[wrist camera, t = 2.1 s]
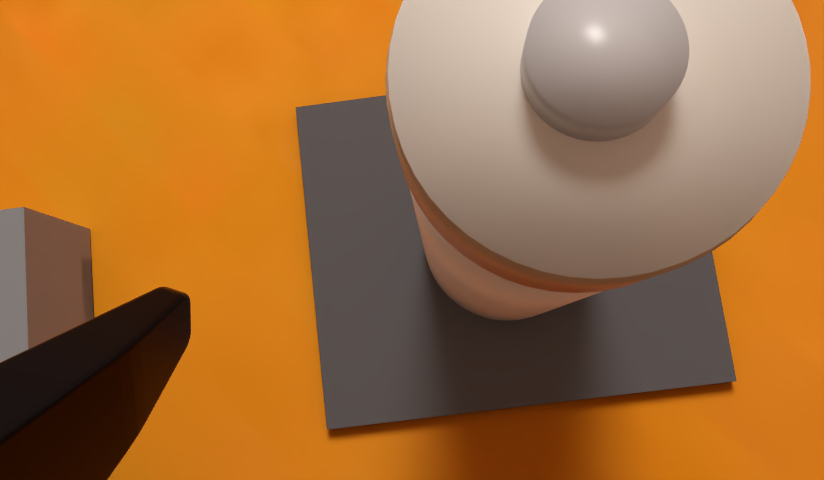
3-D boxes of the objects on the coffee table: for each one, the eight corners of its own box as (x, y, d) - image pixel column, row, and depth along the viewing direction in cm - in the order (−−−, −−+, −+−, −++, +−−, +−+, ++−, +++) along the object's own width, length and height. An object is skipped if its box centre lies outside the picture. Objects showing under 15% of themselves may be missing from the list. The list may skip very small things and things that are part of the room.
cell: (603, 311, 21) (890, 243, 7) (433, 331, 21) (406, 303, 7) (576, 146, 22) (790, -188, 8) (412, 167, 22) (356, -126, 8)
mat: (732, 380, 21) (736, 380, 20) (328, 428, 21) (327, 429, 21) (672, 60, 22) (674, 56, 22) (297, 110, 22) (295, 107, 22)
